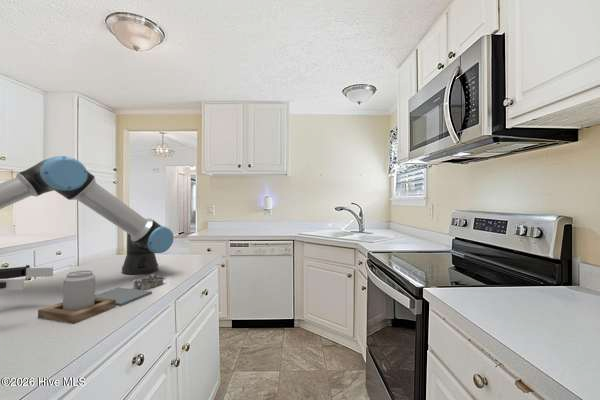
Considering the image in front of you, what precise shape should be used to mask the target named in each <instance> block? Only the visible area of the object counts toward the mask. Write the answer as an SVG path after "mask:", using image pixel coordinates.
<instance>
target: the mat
mask: <svg viewBox="0 0 600 400" xmlns="http://www.w3.org/2000/svg"><path fill="white" fill-rule="evenodd" d="M152 293H153V291H151V290H141V289H134V288H127V287H115V288H113V289H109V290H106V291H104V292H100V293H97V294H95V297H98V298H105V299H112V300H116V307H123V306H125V305H127V304H130V303H132V302H133V303H134V301H137V300H140V299H142V298H144V297H148V296H149V295H152Z"/></svg>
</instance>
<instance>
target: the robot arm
mask: <svg viewBox="0 0 600 400" xmlns="http://www.w3.org/2000/svg"><path fill="white" fill-rule="evenodd" d="M54 191H55V192H56V193H58V194H59V195H61V196H63V198H65V199H67V200H69V201H75V200H77V201H78V202H80V203H82V204H83V205H84V206H86V207H88V208H89V209H91V210H92V211H94V212H95V213H96V214H98V215H100V216H101V217H103V218H104V219H106V220H107V221H109V223H111V224H113V225H115V226H117V227H118V228H119V229H121V230H123V232H125V233H126V255H125V256H126V257H125V258H124V263H123V265H122V266H121V273H122V274H125V275H143V274H144V275H145V274H150V273H151V274H152V273H154V272H156V271H158V270H159V263H158V261H157V257H156V254H162V253H163V254H164V253H165V252H167V251H168V250H169V249H171V247H172V245H173V243H174V233H173V231H172V230H171V229H170V228H169V227H166V226H165V225H163V226H162V225H161V224H159V222H157V221H156V220H154V219H152V218H150V217H149V218H145V217H144V216H142V215H141V214H140V213H138V212H137V211H135V209H133V208H131V207H130V206H128V205H127V204H126V203H125V202H123V201H121V199H119V198H117V196H115V195H113V193H111V192H109V191H108V190H106V188H104V187H103V186H101V185H100V184H99V183H97V182H96V176H95V175H94V174H92V173H91V172H90V171H88V170H87V168H86V166H85V165H84V164H83V163H82V161H80V160H78V159H77V158H75V157H71V156H65V155H57V156H52V157H49V158H47V159H46V158H45V159H44V160H41V161H40V162H38V163H37V164H34V165H32V166H31V167H29V168H27V169H24V170H22V171H20V172H17V173H16V175H15V177H13V178H11V179H8V180H5V181H4V182H1V183H0V210H2V209H5V208H7V207H10V206H11V205H13V204H15V203H18V202H20V201H22V200H25V199H27V198H29V197H38V196H41V195H43V194H46V193H49V192H54ZM53 274H54V266H47V267H45V266H42V267H40V266H39V267H31V266H30V264H26V265H25V266H17V267H16V266H15V267H6V268H0V291H11V290H12V291H14V290H23V289H24V288H25V287H24V286H25V278H24V277H26V278H39V277H40V278H43V277H45V278H46V277H53V276H54V275H53Z"/></svg>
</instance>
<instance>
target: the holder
mask: <svg viewBox="0 0 600 400" xmlns="http://www.w3.org/2000/svg"><path fill="white" fill-rule="evenodd" d="M114 308H117V306H116V300H112V299H105V298H98V297H95V302H94V305H93V306H90V307H87V308H85V309H82V310H79V311H76V312H74V311H68V310H63V301H62V302H59V303H56V304H53V305H50V306H45V307H44V308H40V309H38V310H37V318H38V319H42V320H48V321H53V320H54V322H59V321H62V322H61V323H65V322H67V323H66V324H71V323H72V325H74V324H77V323H79V322H82V321H84V320H86V319H89V318H91V317H94V316H97V315H100V314H102V313H104V312H106V311H109V310H111V309H114ZM81 320H82V321H81ZM76 322H77V323H76Z"/></svg>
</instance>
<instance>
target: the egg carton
mask: <svg viewBox="0 0 600 400" xmlns="http://www.w3.org/2000/svg"><path fill="white" fill-rule="evenodd" d="M165 279H166V277H165V276H164V277H163V275H159V274H155V273H151V274H150V275H146V276H143V277H140V278H138V279H137V278H135V279H133V280H132V281H131V283H132V284H133V289H136V290H144V291H150V289H151V288H157V287H158V286H162V285H164V280H165Z"/></svg>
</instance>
